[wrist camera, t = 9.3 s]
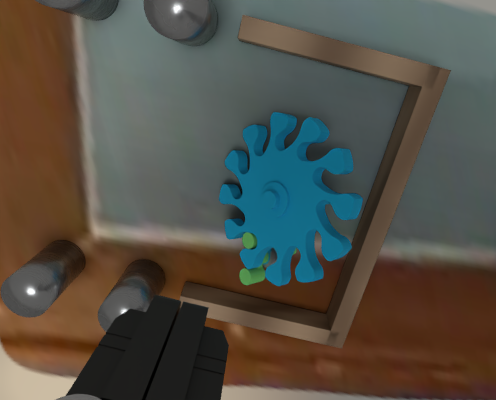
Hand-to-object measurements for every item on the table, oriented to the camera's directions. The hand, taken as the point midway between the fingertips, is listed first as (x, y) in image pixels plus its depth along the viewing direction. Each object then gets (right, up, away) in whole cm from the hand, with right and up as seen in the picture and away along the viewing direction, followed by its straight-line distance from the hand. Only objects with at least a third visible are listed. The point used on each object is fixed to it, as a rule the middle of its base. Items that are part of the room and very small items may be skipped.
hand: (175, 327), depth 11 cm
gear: (+4, +4, +16) cm, 17 cm away
